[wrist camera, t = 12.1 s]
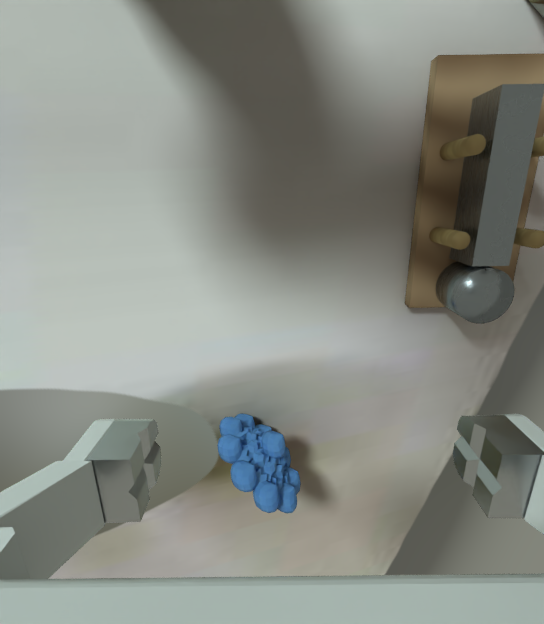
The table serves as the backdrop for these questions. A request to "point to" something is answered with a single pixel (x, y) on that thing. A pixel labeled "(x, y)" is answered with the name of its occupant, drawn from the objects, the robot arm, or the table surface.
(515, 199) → the grey bar
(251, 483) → the grapes
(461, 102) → the peg board
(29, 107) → the table surface
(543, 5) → the coffee box
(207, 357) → the table surface
